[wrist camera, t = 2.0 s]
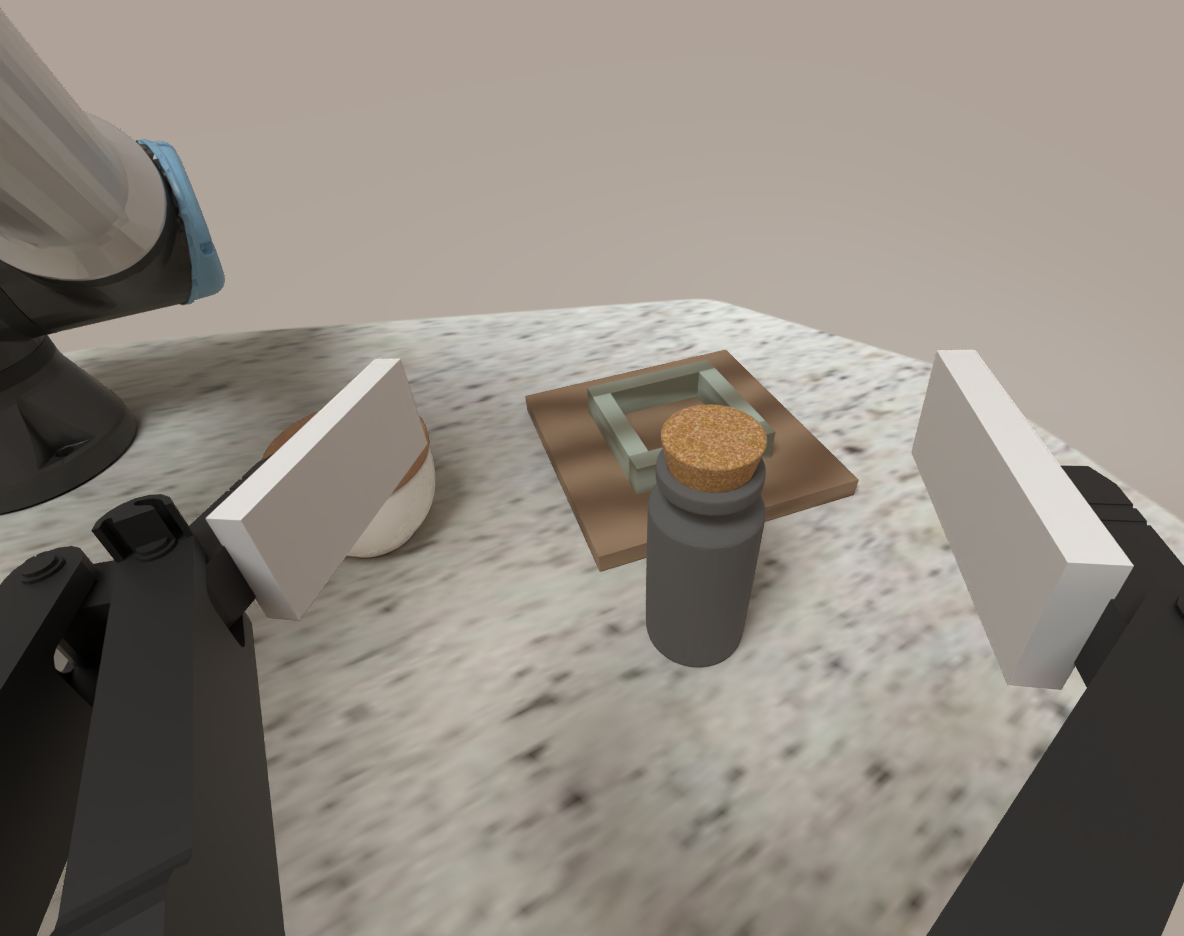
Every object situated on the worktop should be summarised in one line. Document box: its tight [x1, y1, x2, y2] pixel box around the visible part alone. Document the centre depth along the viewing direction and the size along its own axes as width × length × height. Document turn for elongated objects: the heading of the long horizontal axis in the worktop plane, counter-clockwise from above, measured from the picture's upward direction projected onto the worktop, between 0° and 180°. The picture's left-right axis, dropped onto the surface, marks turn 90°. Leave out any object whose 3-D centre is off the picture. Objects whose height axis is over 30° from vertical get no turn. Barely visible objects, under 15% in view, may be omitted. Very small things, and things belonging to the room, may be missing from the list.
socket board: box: [525, 350, 858, 571], centre depth 48 cm, size 20×20×4 cm
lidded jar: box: [262, 411, 435, 558], centre depth 42 cm, size 11×11×9 cm
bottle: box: [646, 404, 767, 667], centre depth 32 cm, size 6×6×15 cm
